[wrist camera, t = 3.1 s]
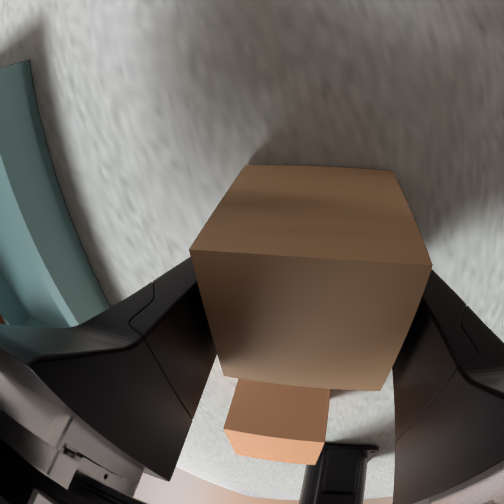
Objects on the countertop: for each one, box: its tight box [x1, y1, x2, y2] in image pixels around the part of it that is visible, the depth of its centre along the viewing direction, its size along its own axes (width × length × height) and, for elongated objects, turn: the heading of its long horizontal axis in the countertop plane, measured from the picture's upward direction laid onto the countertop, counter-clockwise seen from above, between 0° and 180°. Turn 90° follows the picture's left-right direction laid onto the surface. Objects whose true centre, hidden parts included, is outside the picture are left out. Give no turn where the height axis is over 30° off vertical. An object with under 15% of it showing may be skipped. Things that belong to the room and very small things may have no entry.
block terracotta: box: [224, 378, 331, 465], centre depth 15 cm, size 4×4×4 cm
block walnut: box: [189, 165, 433, 391], centre depth 8 cm, size 4×4×4 cm
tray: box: [0, 60, 110, 328], centre depth 14 cm, size 18×12×2 cm, turn 5°
